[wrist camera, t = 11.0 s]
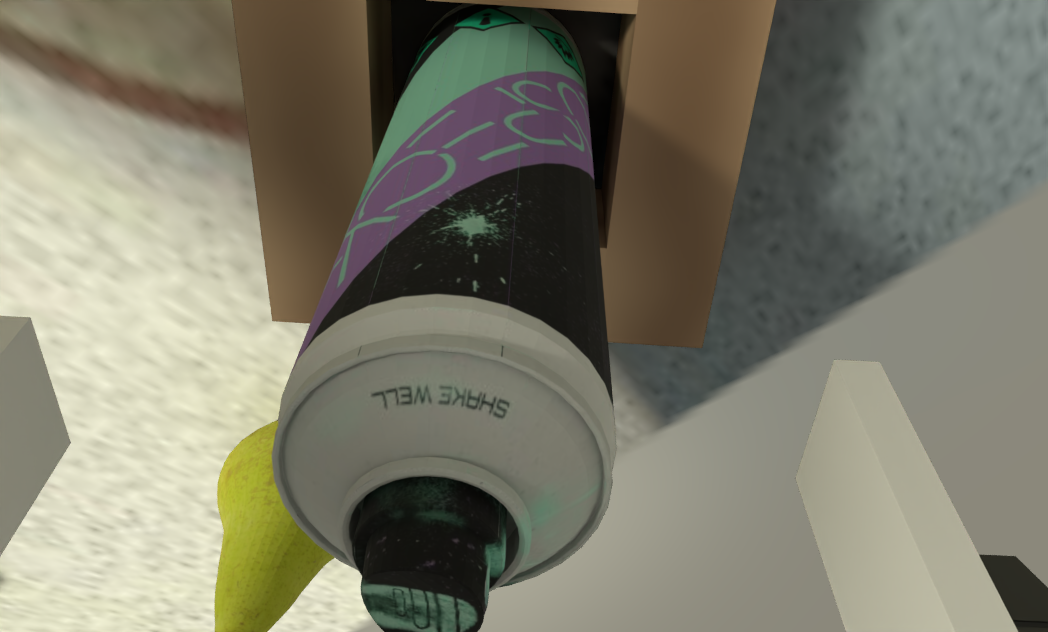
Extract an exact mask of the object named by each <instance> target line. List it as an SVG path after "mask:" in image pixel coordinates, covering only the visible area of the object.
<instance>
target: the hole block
mask: <svg viewBox="0 0 1048 632" xmlns="http://www.w3.org/2000/svg"><path fill="white" fill-rule="evenodd" d="M428 1H443V2H458V3H473V4H488V5H504V6H519V7H534V8H549V9H564V10H579V11H594V12H609V13H622V17H621V25H620V34H619V42H618V51H617V59H616V68H615V76H614V85H613V93H612V102H611V110H610V119H609V127H608V136H607V144H606V153H605V161H604V170H603V178H602V187H601V189H595V194H596V206H597V218H598V230H599V242H600V254H601V266H602V278H603V290H604V302H605V314H606V326H607V338H608V342H613V343H629V344H645V345H661V346H676V347H692V348H702V346H703V342H704V337H705V332H706V328H707V323H708V318H709V314H710V309H711V304H712V300H713V295H714V290H715V286H716V281H717V276H718V272H719V267H720V262H721V257H722V253H723V248H724V243H725V239H726V234H727V229H728V225H729V220H730V215H731V211H732V206H733V201H734V197H735V192H736V187H737V182H738V178H739V173H740V168H741V164H742V159H743V154H744V150H745V145H746V140H747V136H748V131H749V126H750V122H751V117H752V112H753V108H754V103H755V98H756V93H757V89H758V84H759V79H760V75H761V70H762V65H763V61H764V56H765V51H766V47H767V42H768V37H769V33H770V28H771V23H772V18H773V14H774V9H775V4H776V0H428ZM232 8H233V16H234V24H235V31H236V39H237V47H238V55H239V63H240V71H241V79H242V86H243V94H244V102H245V110H246V118H247V126H248V134H249V141H250V149H251V157H252V165H253V173H254V181H255V188H256V196H257V204H258V212H259V220H260V228H261V236H262V243H263V251H264V259H265V267H266V275H267V283H268V290H269V298H270V306H271V314H272V321H279V322H295V323H311V321H312V319H313V316H314V314H315V311H316V309H317V306H318V304H319V301H320V298H321V296H322V293H323V291H324V288H325V286H326V283H327V281H328V278H329V276H330V273H331V271H332V268H333V265H334V263H335V260H336V258H337V255H338V253H339V250H340V248H341V245H342V243H343V240H344V238H345V235H346V233H347V230H348V227H349V225H350V222H351V220H352V217H353V215H354V212H355V210H356V207H357V205H358V202H359V200H360V197H361V195H362V192H363V189H364V187H365V184H366V182H367V179H368V177H369V174H370V172H371V169H372V167H373V164H374V162H375V159H376V156H377V154H378V151H379V149H380V146H381V144H382V141H383V139H384V136H385V134H386V131H387V129H388V126H389V124H390V121H391V118H392V116H393V113H394V99H393V63H392V27H391V0H232Z"/></svg>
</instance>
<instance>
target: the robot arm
mask: <svg viewBox="0 0 1048 632" xmlns="http://www.w3.org/2000/svg"><path fill="white" fill-rule="evenodd" d="M70 443H71V442H70V439H69V436H68V433H67V430H66V426H65V423H64V420H63V417H62V414H61V411H60V408H59V405H58V402H57V399H56V395H55V392H54V389H53V386H52V383H51V380H50V377H49V374H48V371H47V368H46V364H45V361H44V358H43V355H42V352H41V349H40V346H39V343H38V340H37V337H36V333H35V330H34V327H33V324H32V321H31V318H30V317H11V316H0V556H1V554H2V553H3V551H4V549H5V548H6V546H7V545H8V543H9V541H10V540H11V538H12V537H13V535H14V533H15V532H16V530H17V529H18V527H19V525H20V524H21V522H22V520H23V519H24V517H25V516H26V514H27V512H28V511H29V509H30V508H31V506H32V504H33V503H34V501H35V500H36V498H37V496H38V495H39V493H40V491H41V490H42V488H43V487H44V485H45V483H46V482H47V480H48V479H49V477H50V475H51V474H52V472H53V471H54V469H55V467H56V466H57V464H58V462H59V461H60V459H61V458H62V456H63V454H64V453H65V451H66V450H67V448H68V446H69V445H70ZM795 479H796V482H797V485H798V488H799V491H800V494H801V497H802V500H803V503H804V506H805V509H806V512H807V516H808V519H809V522H810V525H811V528H812V530H813V533H814V537H815V540H816V543H817V546H818V549H819V552H820V555H821V558H822V561H823V564H824V567H825V570H826V573H827V576H828V579H829V582H830V585H831V588H832V591H833V594H834V597H835V601H836V604H837V607H838V610H839V613H840V615H841V619H842V622H843V625H844V628H845V631H846V632H1048V588H1047V587H1046V586H1045V585H1044V584H1043V583H1042V582H1041V581H1040V580H1039V579H1038V578H1037V577H1036V576H1035V575H1034V574H1033V573H1032V572H1031V571H1030V570H1029V569H1028V568H1027V567H1026V566H1025V565H1024V564H1023V563H1022V562H1021V561H1020V560H1019V559H1018V558H1017V557H1015V556H997V555H979V554H978V553H977V550H976V549H975V547H974V545H973V543H972V541H971V539H970V537H969V535H968V533H967V531H966V529H965V527H964V525H963V523H962V521H961V519H960V517H959V516H958V513H957V511H956V510H955V507H954V506H953V504H952V502H951V500H950V498H949V496H948V494H947V492H946V490H945V488H944V486H943V484H942V482H941V480H940V478H939V476H938V474H937V472H936V470H935V468H934V467H933V465H932V463H931V461H930V459H929V457H928V455H927V453H926V451H925V449H924V447H923V445H922V443H921V441H920V439H919V437H918V435H917V434H916V431H915V429H914V428H913V426H912V424H911V422H910V420H909V418H908V416H907V414H906V412H905V410H904V408H903V406H902V404H901V402H900V400H899V398H898V396H897V394H896V392H895V391H894V389H893V387H892V385H891V383H890V381H889V379H888V377H887V375H886V373H885V371H884V369H883V367H882V365H881V364H880V362H872V361H852V360H834V361H833V364H832V367H831V370H830V373H829V376H828V380H827V383H826V386H825V389H824V392H823V395H822V398H821V401H820V405H819V407H818V410H817V413H816V416H815V419H814V423H813V425H812V429H811V432H810V435H809V438H808V441H807V444H806V447H805V450H804V453H803V456H802V459H801V462H800V465H799V468H798V471H797V474H796V477H795Z"/></svg>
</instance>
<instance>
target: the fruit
mask: <svg viewBox="0 0 1048 632" xmlns="http://www.w3.org/2000/svg"><path fill="white" fill-rule="evenodd" d="M277 427H278V420H277V421H275V422H272V423H270V424H268V425H266V426H264V427H262V428H260V429H258V430H256V431H255V432H253V433H252V434H250V435H249V436H248V437H246V438H245V439H243V440H242V441H241V442H240V443H239V444H238V445H237V446H236V447H235V448H234V450H233V451H232V452H231V453H230V454H229V456H228V458H227V459H226V461H225V463H224V466H223V468H222V470H221V473H220V477H219V480H218V491H217V498H218V508H219V513H220V517H221V521H222V524H223V529H224V535H223V542H222V550H221V555H220V561H219V567H218V576H217V583H216V591H215V632H267V631H268V630H269V629H270V628H271V627H272V626H273V625H274V624H275V623H276V622H277V621H278V620H279V619H280V618H281V617H282V616H283V615H284V614H285V612H286V611H287V610H288V609H289V608H290V607H291V606H292V604H293V603H294V602H295V601H296V599H297V598H298V596H299V595H300V594H301V592H302V591H303V590H304V589H305V587H306V586H307V585H308V584H309V583H310V581H311V580H312V579H313V578H314V577H315V575H316V574H317V573H318V572H319V571H320V570H321V569H322V568H323V566H324V565H326V564H327V563H328V562H329V561H331V560H332V559H333V558H335V557H334V556H332V555H331V554H329V553H328V552H327V551H325V550H324V549H322V548H321V547H320V546H318V545H317V544H316V543H315V542H314V541H313V540H312V539H311V538H310V537H309V536H308V535H307V534H306V533H305V532H304V531H303V530H302V529H301V528H300V527H299V526H298V525H297V524H296V522H295V521H294V519H293V518H292V516H291V515H290V513H289V512H288V510H287V509H286V507H285V506H284V504H283V502H282V499H281V497H280V494H279V492H278V489H277V486H276V484H275V481H274V474H273V465H272V451H273V445H274V439H275V433H276V430H277Z"/></svg>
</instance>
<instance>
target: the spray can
mask: <svg viewBox="0 0 1048 632" xmlns="http://www.w3.org/2000/svg"><path fill="white" fill-rule="evenodd" d="M615 453H616V434H615V421H614V409H613V397H612V385H611V374H610V362H609V350H608V338H607V326H606V314H605V302H604V290H603V278H602V266H601V254H600V242H599V230H598V218H597V206H596V194H595V182H594V170H593V158H592V146H591V134H590V122H589V110H588V99H587V87H586V75H585V69H584V65H583V62H582V58H581V55H580V51H579V49H578V47H577V45H576V44H575V42H574V40H573V38H572V36H571V35H570V33H569V32H568V31H567V30H566V29H565V27H564V26H563V25H562V24H561V22H559V21H558V20H557V19H556V18H555V17H553V16H552V15H551V14H550V13H549V12H547V11H546V10H544V9H542V8H534V7H519V6H504V5H488V4H473V3H463V4H461V5H460V6H458V7H456V8H454V9H453V10H451V11H449V12H448V13H447V14H445V15H444V16H443V17H442V18H441V19H440V20H439V21H438V22H436V23H435V25H434V26H433V27H432V29H431V30H430V31H429V33H428V34H427V36H426V37H425V39H424V40H423V42H422V44H421V46H420V49H419V51H418V53H417V55H416V58H415V60H414V63H413V65H412V68H411V70H410V73H409V75H408V78H407V80H406V83H405V86H404V88H403V91H402V93H401V96H400V98H399V101H398V103H397V106H396V108H395V111H394V113H393V116H392V118H391V121H390V124H389V126H388V129H387V131H386V134H385V136H384V139H383V141H382V144H381V146H380V149H379V151H378V154H377V156H376V159H375V162H374V164H373V167H372V169H371V172H370V174H369V177H368V179H367V182H366V184H365V187H364V189H363V192H362V195H361V197H360V200H359V202H358V205H357V207H356V210H355V212H354V215H353V217H352V220H351V222H350V225H349V227H348V230H347V233H346V235H345V238H344V240H343V243H342V245H341V248H340V250H339V253H338V255H337V258H336V260H335V263H334V265H333V268H332V271H331V273H330V276H329V278H328V281H327V283H326V286H325V288H324V291H323V293H322V296H321V298H320V301H319V304H318V306H317V309H316V311H315V314H314V316H313V319H312V321H311V324H310V326H309V329H308V331H307V334H306V336H305V339H304V342H303V344H302V347H301V349H300V352H299V354H298V357H297V359H296V362H295V364H294V367H293V369H292V372H291V374H290V377H289V380H288V382H287V385H286V387H285V390H284V392H283V395H282V399H281V405H280V411H279V417H278V427H277V430H276V433H275V439H274V445H273V451H272V465H273V474H274V481H275V484H276V486H277V489H278V492H279V494H280V497H281V499H282V502H283V504H284V506H285V507H286V509H287V510H288V512H289V513H290V515H291V516H292V518H293V519H294V521H295V522H296V524H297V525H298V526H299V527H300V528H301V529H302V530H303V531H304V532H305V533H306V534H307V535H308V536H309V537H310V538H311V539H312V540H313V541H314V542H315V543H316V544H317V545H318V546H320V547H321V548H322V549H324V550H325V551H327V552H328V553H329V554H331V555H332V556H334V557H335V558H336V559H338V560H339V561H341V562H343V563H345V564H347V565H349V566H351V567H353V568H355V569H357V570H358V571H359V572H360V573H361V575H362V581H361V595H362V598H363V602H364V604H365V606H366V608H367V610H368V612H369V613H370V615H371V616H372V618H373V619H374V621H375V622H376V623H377V625H378V626H380V628H381V629H382V630H383V631H384V632H477V631H478V630H479V629H480V628H481V625H482V623H483V619H484V614H485V611H486V608H487V604H488V595H489V592H490V591H492V590H494V589H496V588H498V587H503V586H509V585H512V584H515V583H518V582H521V581H524V580H527V579H530V578H533V577H536V576H538V575H540V574H542V573H544V572H546V571H548V570H550V569H551V568H553V567H555V566H557V565H559V564H561V563H562V562H564V561H565V560H566V559H567V558H569V557H570V556H571V555H572V554H574V553H575V552H576V551H578V550H579V549H580V548H581V547H582V546H583V545H584V544H585V543H586V541H587V540H588V539H589V538H590V537H591V535H592V534H593V533H594V532H595V530H596V529H597V528H598V526H599V524H600V522H601V520H602V518H603V516H604V514H605V511H606V510H607V508H608V504H609V499H610V494H611V488H612V469H613V464H614V458H615Z"/></svg>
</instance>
